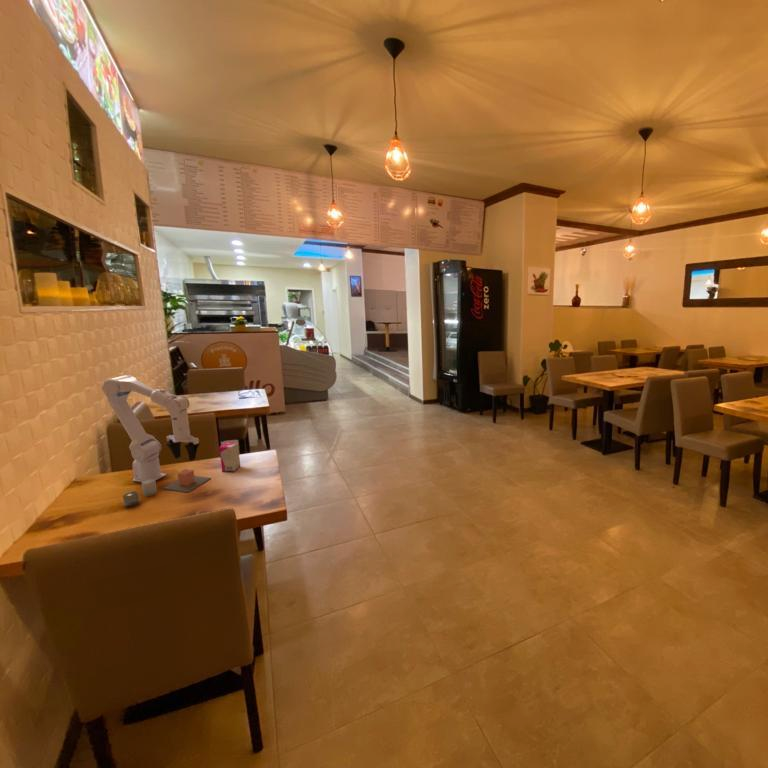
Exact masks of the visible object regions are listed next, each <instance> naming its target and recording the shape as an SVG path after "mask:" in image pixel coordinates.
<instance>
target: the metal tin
mask: <svg viewBox="0 0 768 768" xmlns="http://www.w3.org/2000/svg"><path fill="white" fill-rule="evenodd" d="M122 499H123V505H124V507H125V508H133V507H135V506H138V505H139V504H140V499H139V493H138V491H137V490H135V491H134V490H133V491H129V492H126V493H124V494H123V495H122Z"/></svg>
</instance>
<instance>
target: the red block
mask: <svg viewBox="0 0 768 768" xmlns="http://www.w3.org/2000/svg"><path fill="white" fill-rule="evenodd" d="M194 476H195V473H194V470H193V469H190V468H189V469H188V468H184V469H183V470H181V471H179V472H177V480H178V481H179V485H183V486H188V485H190V484H192V483H193V482H195V478H194Z"/></svg>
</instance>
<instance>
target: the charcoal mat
mask: <svg viewBox="0 0 768 768" xmlns="http://www.w3.org/2000/svg"><path fill="white" fill-rule="evenodd" d="M194 478H195V482H193V483H192V484H190V485H188V486H183V485H179V481H178V479H177V480H176V481H174V482H172V483H170V484H168V485H166V486H164V487H163V490H167V491H176V492H180V493H186V494H189V493H190V492H192V491H193V490H195V489H197V488H199V487H200V486H202V485H203V484H205V483H206V482H208V481H210V480H211V479H212V478H211V477H207V476H206V477H205V476H199V475H194Z"/></svg>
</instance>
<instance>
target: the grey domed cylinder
mask: <svg viewBox="0 0 768 768" xmlns="http://www.w3.org/2000/svg"><path fill="white" fill-rule="evenodd" d="M156 482H157V480H156V481H155V479H147V480H145V481H143V482H141V488H142V493H143V496H144V497H151V496H154V495H156V494H157V493H158V490H157V487H158V486H157V483H156Z"/></svg>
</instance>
